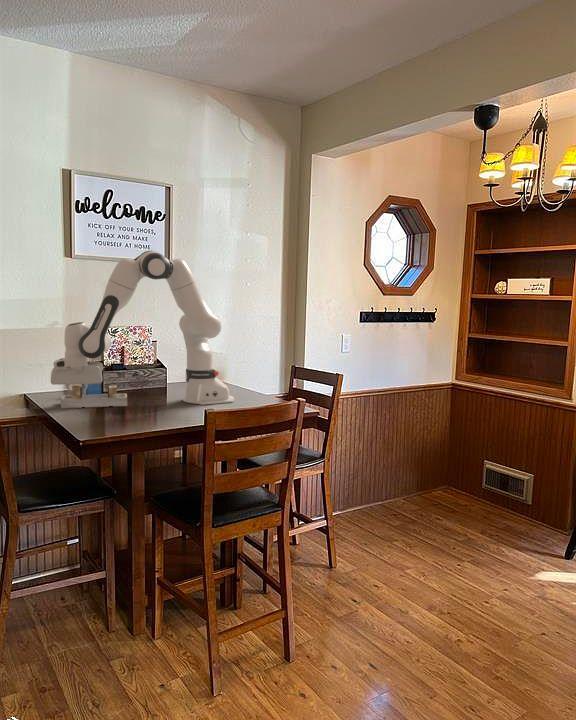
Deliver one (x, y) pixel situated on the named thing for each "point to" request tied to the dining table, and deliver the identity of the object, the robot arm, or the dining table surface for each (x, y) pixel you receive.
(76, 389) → the finger block
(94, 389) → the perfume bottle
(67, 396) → the rail
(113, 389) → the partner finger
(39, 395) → the dining table surface
